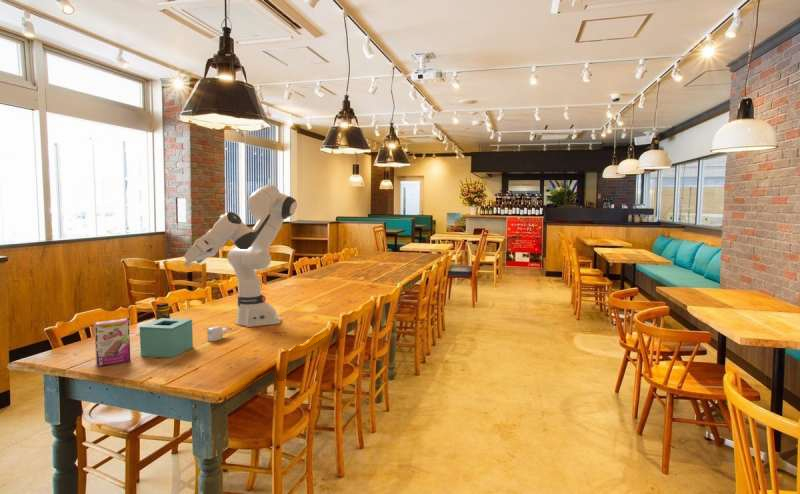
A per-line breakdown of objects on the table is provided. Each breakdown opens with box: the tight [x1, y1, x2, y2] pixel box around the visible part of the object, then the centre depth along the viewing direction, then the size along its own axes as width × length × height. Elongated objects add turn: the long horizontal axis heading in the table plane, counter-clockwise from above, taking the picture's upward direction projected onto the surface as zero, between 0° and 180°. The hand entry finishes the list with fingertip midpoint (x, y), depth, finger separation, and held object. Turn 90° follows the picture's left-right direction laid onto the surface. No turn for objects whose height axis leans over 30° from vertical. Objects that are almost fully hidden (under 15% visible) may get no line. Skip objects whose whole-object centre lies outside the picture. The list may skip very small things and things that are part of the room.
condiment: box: [155, 302, 171, 321], centre depth 227 cm, size 7×8×12 cm
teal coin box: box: [139, 318, 194, 358], centre depth 192 cm, size 14×14×12 cm
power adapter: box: [206, 325, 233, 342], centre depth 211 cm, size 11×5×6 cm, turn 150°
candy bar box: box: [93, 318, 131, 368], centre depth 178 cm, size 11×5×16 cm, turn 128°
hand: (192, 264), depth 205 cm, fingers open, 8 cm apart
